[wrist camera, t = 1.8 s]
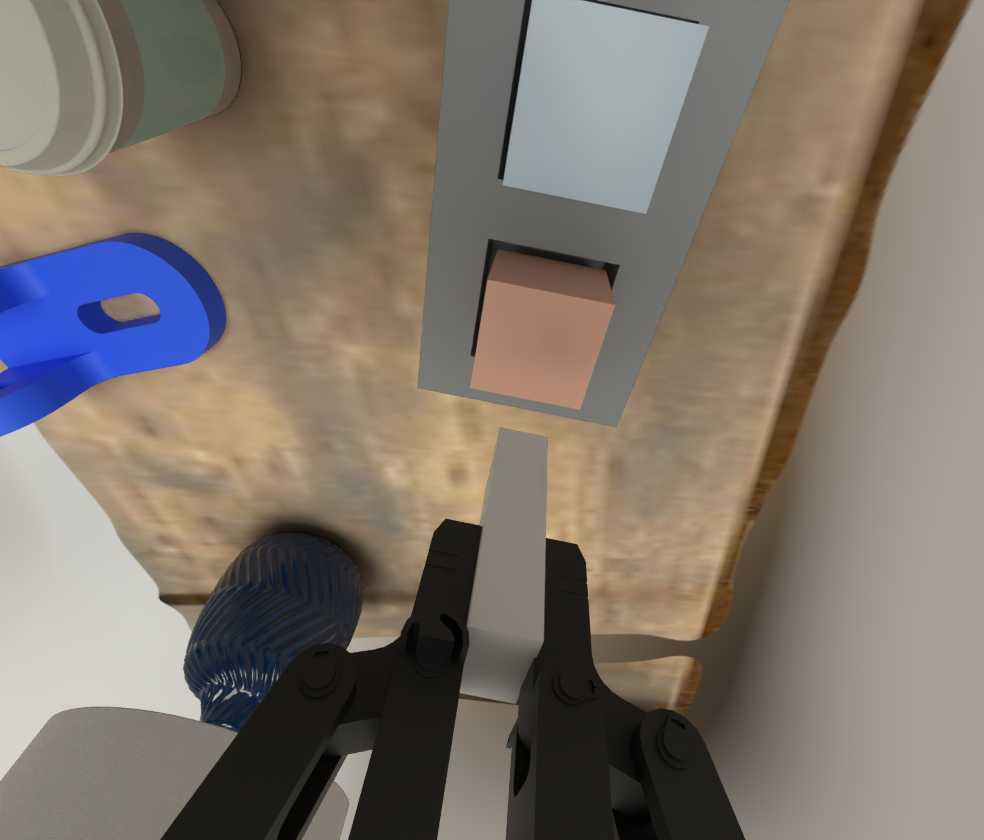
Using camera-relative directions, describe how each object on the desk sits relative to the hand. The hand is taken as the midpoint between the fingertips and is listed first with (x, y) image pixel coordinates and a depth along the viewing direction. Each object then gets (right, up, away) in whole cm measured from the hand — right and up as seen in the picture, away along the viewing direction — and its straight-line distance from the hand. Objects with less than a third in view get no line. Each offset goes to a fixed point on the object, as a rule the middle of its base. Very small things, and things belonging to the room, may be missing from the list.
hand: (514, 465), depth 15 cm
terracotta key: (+2, +7, +10) cm, 12 cm away
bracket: (-28, +9, +18) cm, 34 cm away
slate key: (+3, +14, +4) cm, 15 cm away
